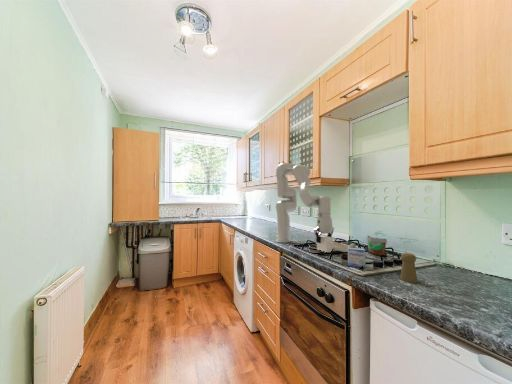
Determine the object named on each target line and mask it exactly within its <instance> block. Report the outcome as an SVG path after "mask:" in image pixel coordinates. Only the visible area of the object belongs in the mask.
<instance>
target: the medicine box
mask: <svg viewBox="0 0 512 384" xmlns="http://www.w3.org/2000/svg"><path fill="white" fill-rule="evenodd" d="M347 266H348V267H350V266H351V267H353V268H361V267H362V266H363V269H365V268H366V249H365V248H360V247H355V248H348V253H347Z"/></svg>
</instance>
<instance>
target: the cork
mask: <svg viewBox="0 0 512 384" xmlns="http://www.w3.org/2000/svg"><path fill="white" fill-rule="evenodd" d="M400 259H401V262H402V264H401V271H400V275H399V276H400V277H399V280H400V281H401V282H405V283H410V284H416V283H418V277H417V269H416V265H415V263H416V261H417V256H416V255H415V254H414V253H410V252H409V253H408V252H404V253H401V256H400Z"/></svg>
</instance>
